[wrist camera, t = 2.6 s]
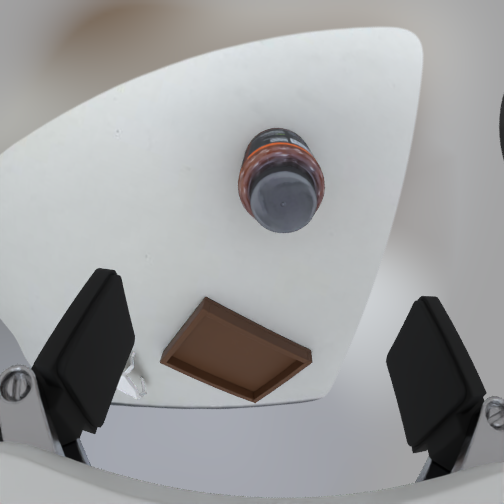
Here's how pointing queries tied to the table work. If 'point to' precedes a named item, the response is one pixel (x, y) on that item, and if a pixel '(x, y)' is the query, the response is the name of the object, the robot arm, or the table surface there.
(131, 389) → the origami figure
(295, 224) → the supplement bottle
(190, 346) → the serving tray
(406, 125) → the table surface
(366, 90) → the table surface
